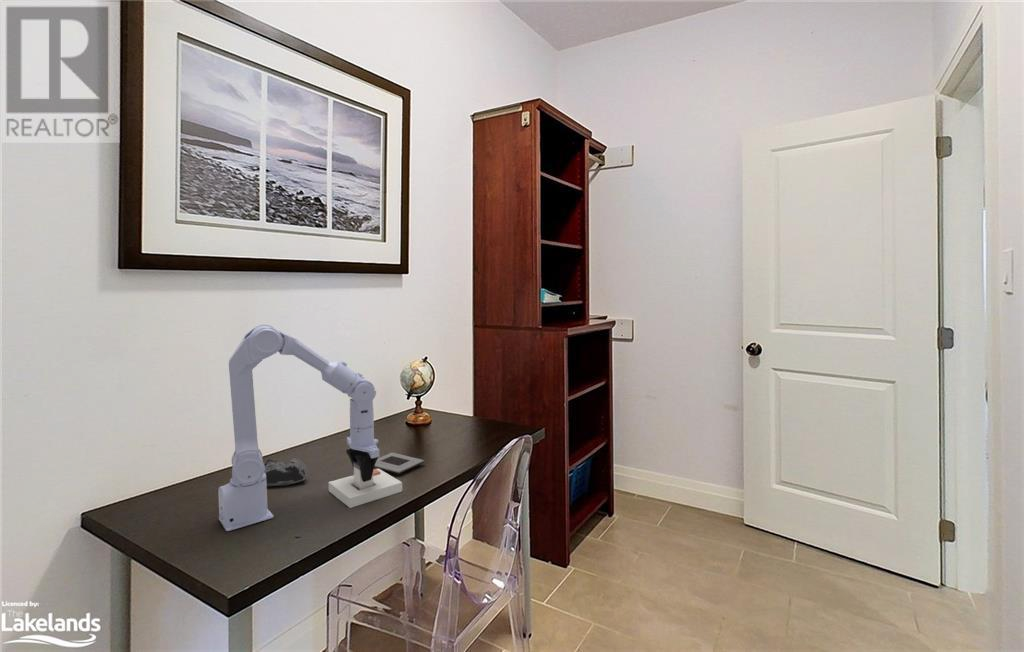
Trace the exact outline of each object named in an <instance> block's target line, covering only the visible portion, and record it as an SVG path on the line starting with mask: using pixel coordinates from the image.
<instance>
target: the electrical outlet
mask: <svg viewBox="0 0 1024 652" xmlns="http://www.w3.org/2000/svg"><path fill="white" fill-rule="evenodd" d="M424 462H425V460H424V459H421V458H417V457H412V456H408V455H404V454H400V453H397V452H390V453H387V454H385V455H383V456H379V458H378V459H377V461H376V463H375V466H374V469H380V470H382V471H384V472H385V471H386V472H390V473H393V474H398V475H400V474H402V473H404V472H407V471H408V470H409V471H410V469H413V468H415V467H417V466H419V465H422V464H423V463H424Z"/></svg>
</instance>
